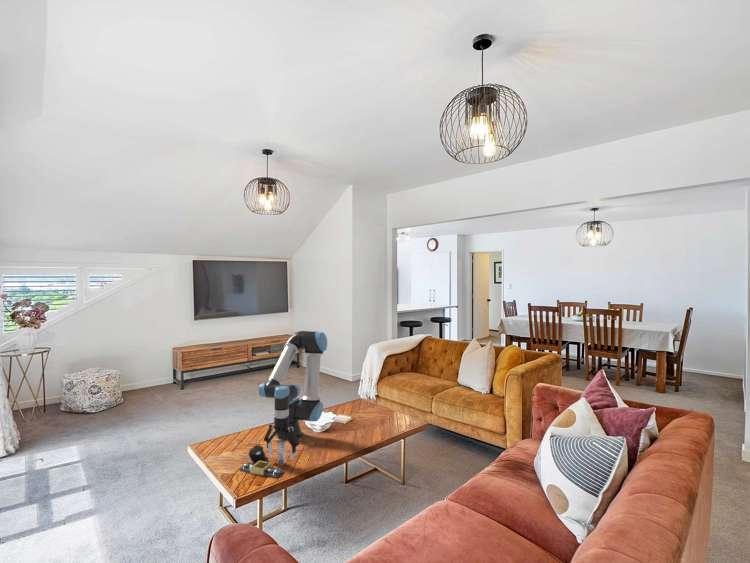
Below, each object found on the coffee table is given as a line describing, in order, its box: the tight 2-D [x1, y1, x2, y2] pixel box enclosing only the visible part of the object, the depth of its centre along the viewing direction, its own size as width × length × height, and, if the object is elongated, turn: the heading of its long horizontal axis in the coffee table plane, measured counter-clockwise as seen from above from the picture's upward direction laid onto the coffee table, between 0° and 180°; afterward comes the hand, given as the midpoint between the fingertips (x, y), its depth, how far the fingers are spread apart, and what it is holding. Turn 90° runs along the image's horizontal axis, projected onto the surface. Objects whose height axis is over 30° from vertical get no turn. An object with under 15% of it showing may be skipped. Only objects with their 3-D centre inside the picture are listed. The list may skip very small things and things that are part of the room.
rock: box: [248, 444, 267, 463], centre depth 210 cm, size 10×9×6 cm
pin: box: [276, 439, 286, 466], centre depth 204 cm, size 4×4×12 cm
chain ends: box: [239, 460, 284, 479], centre depth 196 cm, size 8×22×3 cm, turn 71°
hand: (281, 456), depth 204 cm, fingers open, 13 cm apart
